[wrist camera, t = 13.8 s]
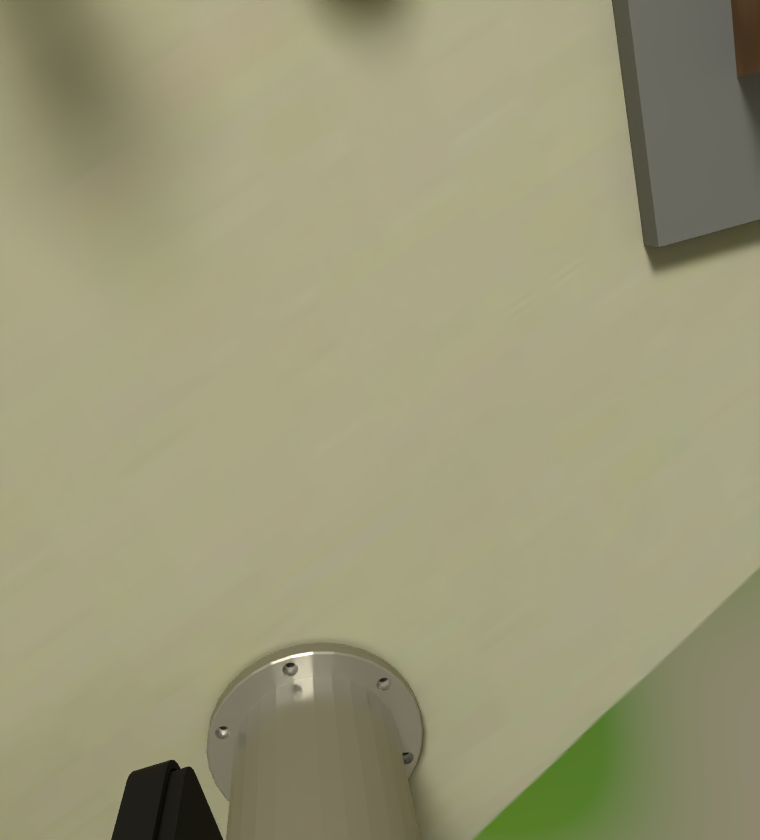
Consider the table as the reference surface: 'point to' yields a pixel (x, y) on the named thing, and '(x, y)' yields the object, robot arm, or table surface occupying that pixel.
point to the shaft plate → (688, 118)
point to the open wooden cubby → (746, 35)
